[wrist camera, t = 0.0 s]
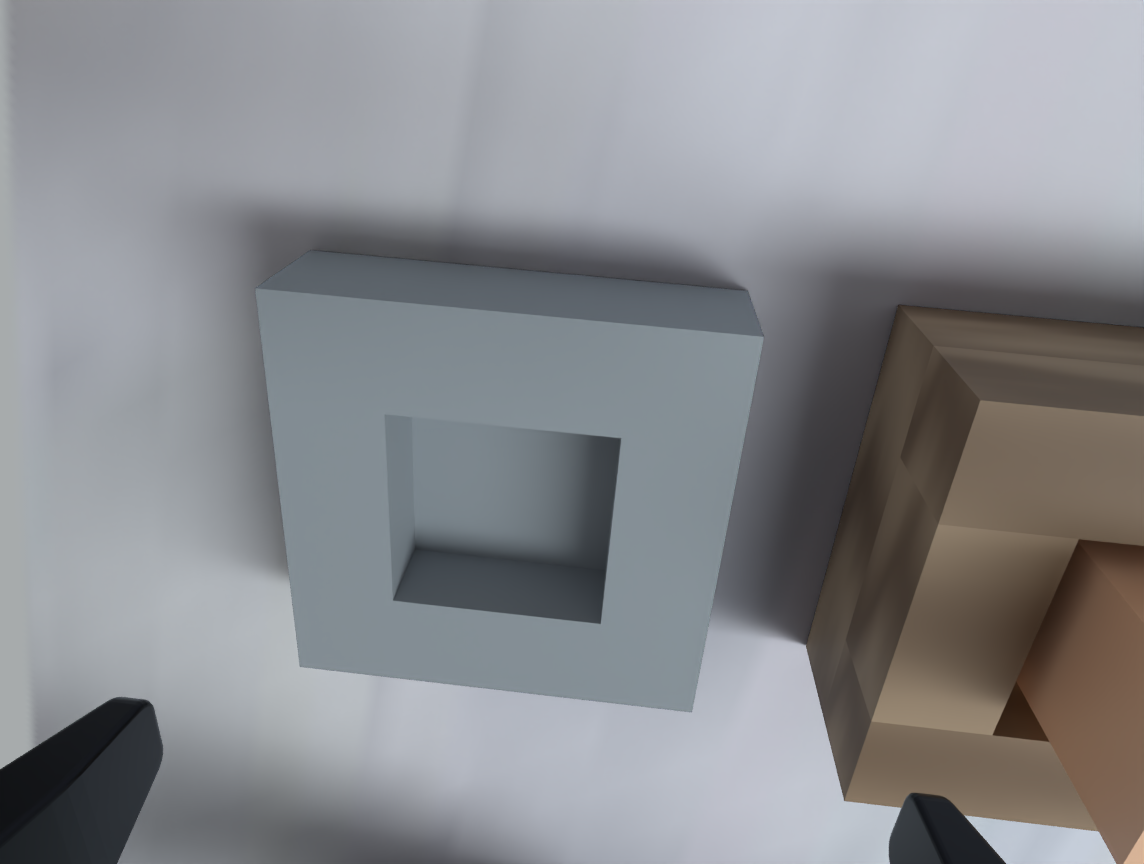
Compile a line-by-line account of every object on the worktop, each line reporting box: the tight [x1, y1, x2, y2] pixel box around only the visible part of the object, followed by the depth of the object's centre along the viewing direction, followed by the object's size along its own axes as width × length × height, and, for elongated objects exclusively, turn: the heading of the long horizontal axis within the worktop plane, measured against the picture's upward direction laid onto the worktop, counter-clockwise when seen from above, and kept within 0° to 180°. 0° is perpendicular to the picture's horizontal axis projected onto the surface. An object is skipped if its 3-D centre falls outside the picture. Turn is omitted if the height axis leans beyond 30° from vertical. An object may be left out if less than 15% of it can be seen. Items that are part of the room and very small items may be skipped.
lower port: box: [255, 250, 764, 712], centre depth 23 cm, size 12×12×4 cm
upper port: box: [806, 305, 1144, 831], centre depth 21 cm, size 12×12×6 cm
